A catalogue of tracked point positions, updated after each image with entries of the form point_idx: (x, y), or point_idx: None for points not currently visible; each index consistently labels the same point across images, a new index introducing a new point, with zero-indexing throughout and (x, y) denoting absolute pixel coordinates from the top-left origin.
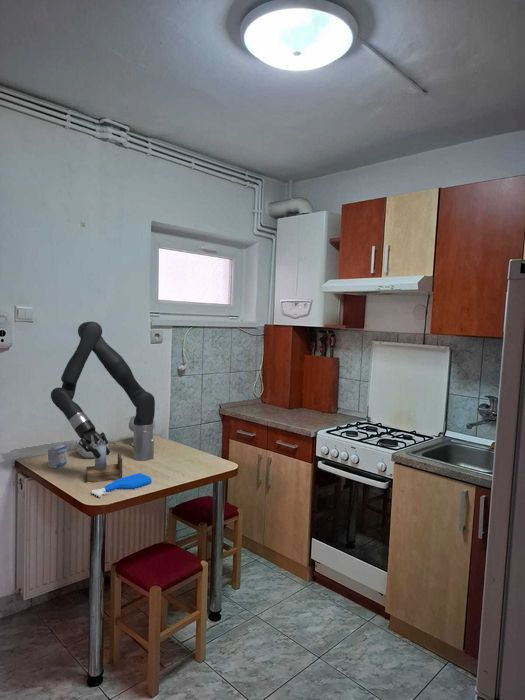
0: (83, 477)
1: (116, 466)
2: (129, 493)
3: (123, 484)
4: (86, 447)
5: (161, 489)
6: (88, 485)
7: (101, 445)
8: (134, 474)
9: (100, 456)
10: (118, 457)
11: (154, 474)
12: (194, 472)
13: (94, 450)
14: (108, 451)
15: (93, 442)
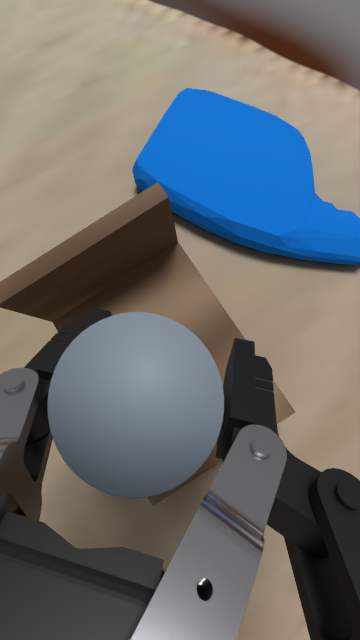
0: (194, 479)
1: (104, 302)
2: (340, 136)
3: (311, 166)
4: (313, 604)
5: (249, 42)
6: (305, 378)
7: (101, 400)
8: (161, 179)
9: (233, 345)
10: (76, 267)
11: (71, 149)
12: (17, 16)
13: (266, 426)
14: (103, 317)
15: (226, 545)
